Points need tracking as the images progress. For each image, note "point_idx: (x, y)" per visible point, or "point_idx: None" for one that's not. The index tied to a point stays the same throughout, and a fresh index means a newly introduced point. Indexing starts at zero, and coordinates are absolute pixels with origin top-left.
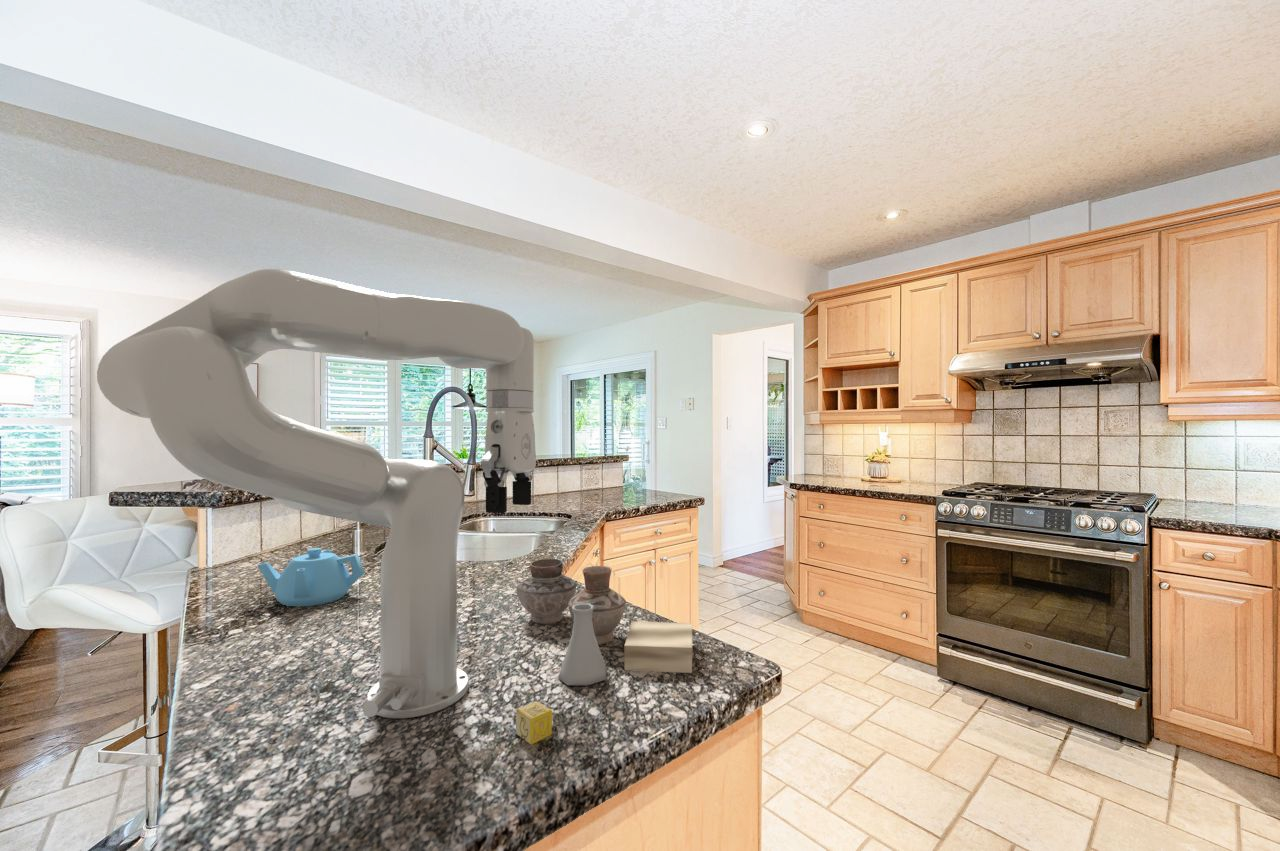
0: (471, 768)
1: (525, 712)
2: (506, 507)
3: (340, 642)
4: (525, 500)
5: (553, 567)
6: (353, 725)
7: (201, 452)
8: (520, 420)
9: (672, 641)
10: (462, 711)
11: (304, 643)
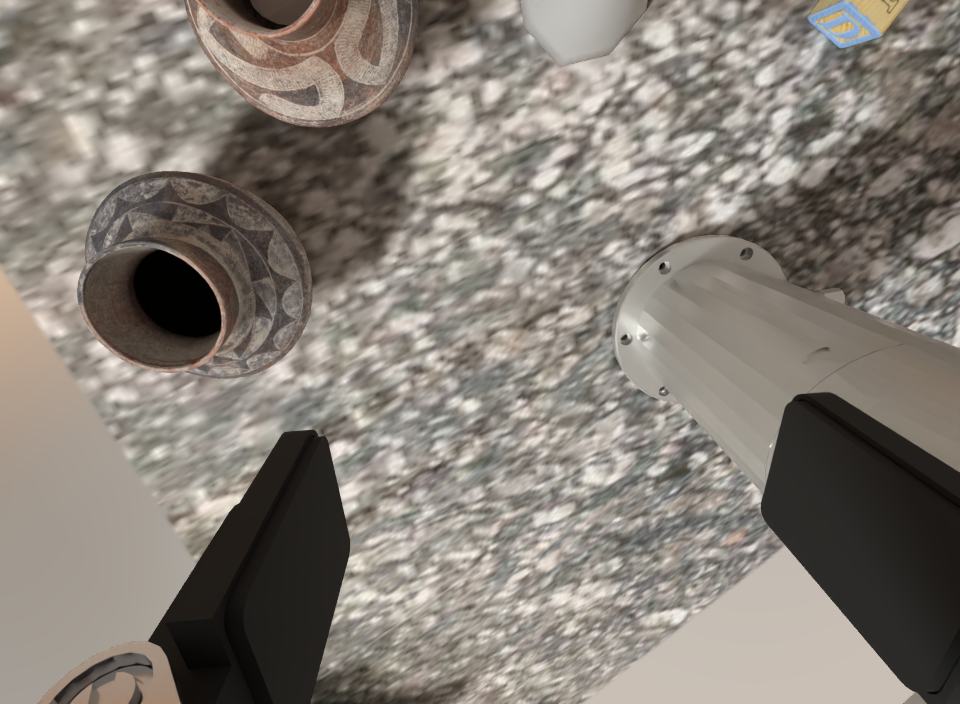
0: (935, 82)
1: (901, 3)
2: (829, 407)
3: (513, 571)
4: (323, 479)
5: (189, 257)
6: None
7: None
8: None
9: None
10: (752, 207)
11: (528, 612)
